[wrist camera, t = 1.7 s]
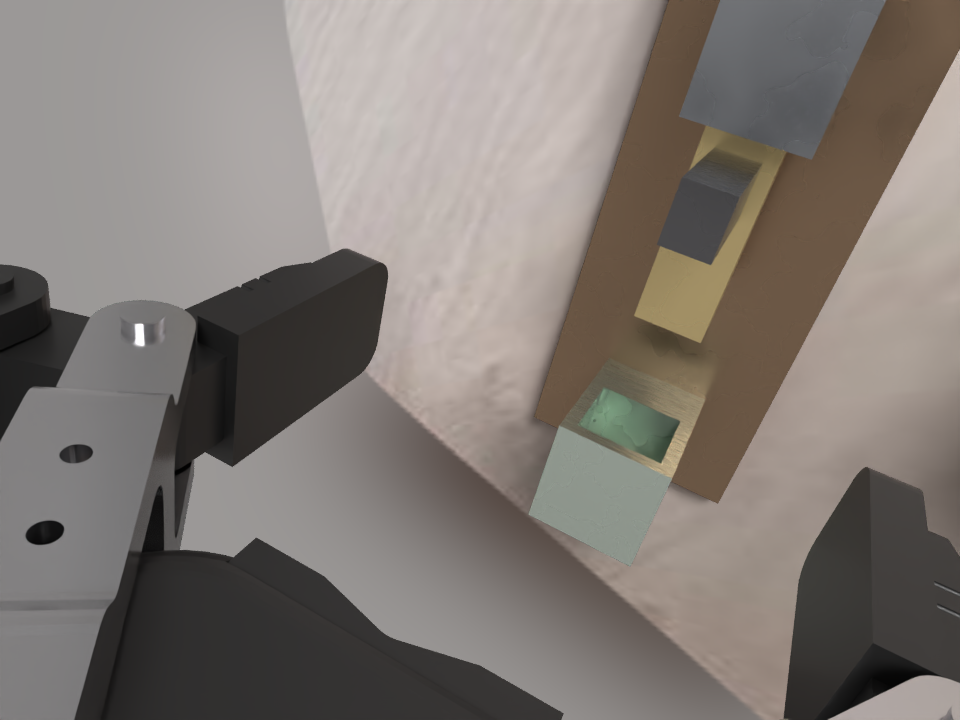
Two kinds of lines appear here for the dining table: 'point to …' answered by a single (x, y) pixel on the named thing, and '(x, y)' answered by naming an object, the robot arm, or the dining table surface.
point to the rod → (707, 231)
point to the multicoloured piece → (764, 261)
